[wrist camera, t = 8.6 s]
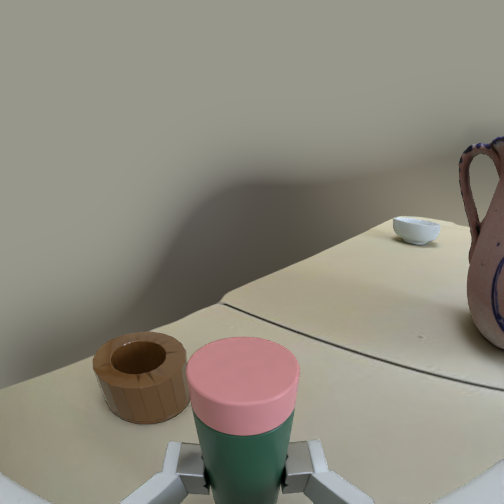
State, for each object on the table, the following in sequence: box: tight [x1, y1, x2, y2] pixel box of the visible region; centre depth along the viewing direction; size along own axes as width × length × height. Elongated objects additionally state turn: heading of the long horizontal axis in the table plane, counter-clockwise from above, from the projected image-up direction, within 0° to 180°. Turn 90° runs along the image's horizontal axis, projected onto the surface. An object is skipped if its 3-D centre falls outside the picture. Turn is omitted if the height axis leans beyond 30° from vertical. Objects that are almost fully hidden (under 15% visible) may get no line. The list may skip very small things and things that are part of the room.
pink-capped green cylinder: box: [186, 337, 300, 504], centre depth 8 cm, size 3×3×13 cm
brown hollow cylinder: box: [93, 332, 190, 424], centre depth 20 cm, size 8×8×4 cm
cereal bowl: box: [393, 217, 440, 245], centre depth 78 cm, size 17×17×7 cm
